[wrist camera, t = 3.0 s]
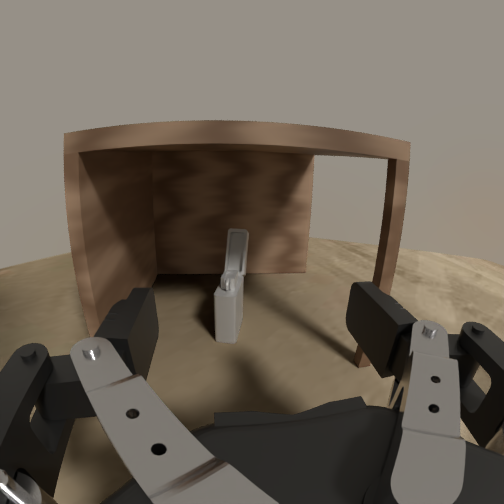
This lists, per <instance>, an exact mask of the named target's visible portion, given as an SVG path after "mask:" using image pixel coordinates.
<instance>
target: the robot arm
mask: <svg viewBox="0 0 504 504" xmlns="http://www.w3.org/2000/svg"><path fill="white" fill-rule="evenodd" d="M346 325H347V328H348V330H349V332H350V333H351V335H352V336H353V337H354V339H355V340H356V342H357V343H358V345H359V346H360V348H361V349H362V350H363V352H364V353H365V355H366V356H367V358H368V359H369V361H370V362H371V363H372V365H373V366H374V368H375V369H376V371H377V372H378V374H379V375H380V377H381V378H385V377H389V376H393V375H394V376H395V378H394V381H393V384H392V387H391V391H390V395H389V399H388V403H387V407H386V408H385V407H380V406H366V404H365V402H364V400H363V399H362V397H361V396H359V397H354V398H349V399H344V400H339V401H333V402H328V403H326V404H323V405H320V406H318V407H315V408H312V409H310V410H307V411H304V412H301V413H298V414H294V415H289V414H276V413H266V412H257V411H246V412H222V413H214V421H215V423H214V424H209V425H206V426H202V427H199V428H197V429H194V430H192V431H190V432H189V431H188V430H187V429H186V427H185V426H184V425H183V424H182V423H181V422H180V421H179V420H178V419H177V418H176V417H175V415H174V414H173V413H172V412H171V411H170V410H169V409H168V407H167V406H166V405H165V404H164V403H163V402H162V400H161V399H160V398H159V397H158V396H157V394H156V393H155V392H154V391H153V390H152V388H151V387H150V386H149V385H148V383H147V382H146V379H147V376H148V372H149V368H150V364H151V361H152V357H153V353H154V350H155V346H156V343H157V339H158V333H159V327H158V318H157V311H156V304H155V296H154V291H153V288H133V289H132V291H131V293H130V294H129V296H128V298H127V299H126V300H125V299H121V300H120V301H118V302H117V303H116V304H114V305H113V306H112V307H111V309H110V310H109V312H108V314H107V315H106V317H105V318H104V320H103V322H102V323H101V325H100V327H99V328H98V330H97V332H96V333H95V335H94V337H90V338H85V339H83V340H81V341H79V342H77V343H76V344H75V345H74V346H73V347H72V348H71V351H70V355H62V356H53V357H50V356H49V353H48V351H47V348H46V347H45V346H44V345H42V344H38V343H31V344H27V345H24V346H22V347H20V348H19V349H17V350H16V351H15V352H14V353H13V355H12V356H11V358H10V359H9V360H8V362H7V363H6V365H5V366H4V368H3V369H2V371H1V372H0V504H58V503H57V502H56V501H55V500H54V499H53V497H54V493H55V488H56V484H57V480H58V476H59V472H60V468H61V464H62V461H63V457H64V454H65V450H66V447H67V443H68V440H69V437H70V433H71V430H72V427H73V424H74V421H75V418H85V417H95V416H97V418H98V420H99V422H100V424H101V426H102V428H103V430H104V432H105V433H106V435H107V437H108V439H109V441H110V442H111V444H112V446H113V447H114V449H115V451H116V452H117V454H118V456H119V457H120V459H121V461H122V462H123V464H124V465H125V467H126V468H127V470H128V472H129V473H130V475H131V476H132V479H130V480H129V481H128V482H127V483H125V484H124V485H123V486H122V487H120V488H119V489H118V490H117V491H115V492H114V493H113V494H112V495H110V496H109V497H108V498H106V499H105V500H104V501H102V502H101V503H100V504H504V342H503V341H502V340H501V339H500V338H499V337H498V336H496V335H495V334H494V333H493V332H492V331H491V330H489V329H488V328H487V327H486V326H484V325H482V324H480V323H476V322H466V323H464V324H463V326H462V329H461V332H460V334H447V331H446V329H445V328H444V327H443V326H441V325H440V324H438V323H435V322H432V321H428V320H421V321H418V320H417V319H416V318H414V317H413V316H412V315H411V314H410V313H409V312H408V311H407V310H406V309H405V308H404V309H403V307H402V306H401V305H400V304H398V302H397V301H396V300H395V299H394V298H392V297H391V296H389V295H387V294H385V293H383V292H382V291H381V290H380V289H379V288H378V287H377V286H375V285H374V284H373V283H372V282H370V281H368V282H354V283H353V284H352V286H351V290H350V296H349V302H348V307H347V313H346ZM479 365H481V366H482V367H483V369H484V370H485V371H486V372H487V373H488V374H489V375H490V377H491V387H490V389H489V391H488V393H487V394H486V395H485V393H484V392H483V391H482V390H481V389H480V387H479V386H478V385H477V384H476V383H475V381H474V380H473V377H474V375H475V373H476V371H477V369H478V367H479ZM34 405H35V407H36V411H35V413H34V415H33V417H32V419H31V422H30V414H31V411H32V409H33V407H34ZM460 418H461V419H462V421H463V422H464V424H465V425H466V427H467V428H468V430H469V431H470V433H471V434H472V436H473V437H474V439H475V440H476V442H477V443H478V445H479V446H478V445H475V444H473V443H470V442H468V441H465V440H464V438H462V437H461V436H460Z"/></svg>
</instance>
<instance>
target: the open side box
mask: <svg viewBox="0 0 504 504" xmlns="http://www.w3.org/2000/svg"><path fill="white" fill-rule="evenodd" d="M314 155H330V156H350V157H367V158H380V159H388V168H387V181H386V193H385V203H384V211H383V220H382V226H381V234H380V241H379V247H378V253H377V259H376V265H375V271H374V276H373V281H372V283H373V284H374V285H375V286H377V287H378V288H379V289H380V290H381V291H382V292H383V293H385V294H387V295H390V291H391V287H392V282H393V277H394V273H395V268H396V262H397V257H398V252H399V246H400V240H401V234H402V226H403V220H404V213H405V205H406V196H407V186H408V174H409V161H410V142H407V141H402V140H398V139H393V138H388V137H383V136H378V135H372V134H367V133H361V132H354V131H348V130H341V129H334V128H326V127H318V126H308V125H298V124H287V123H274V122H257V121H222V120H219V121H218V120H214V121H213V120H211V121H209V120H204V121H171V122H154V123H140V124H129V125H119V126H111V127H103V128H95V129H89V130H82V131H76V132H71V133H64V182H65V198H66V210H67V220H68V230H69V236H70V245H71V252H72V258H73V264H74V270H75V275H76V280H77V285H78V290H79V295H80V299H81V304H82V308H83V312H84V316H85V320H86V324H87V327H88V331H89V335H90V337H94V335H95V333H96V332H97V330H98V328H99V327H100V325H101V323H102V322H103V320H104V318H105V317H106V315H107V314H108V312H109V310H110V309H111V307H112V306H113V305H114V304H116V303H117V302H118V301H120V300H121V299H125V300H126V299H127V298H128V296H129V294H130V293H131V291H132V289H133V288H151V287H152V285H153V283H154V281H155V279H156V276H157V274H223V273H224V271H225V259H226V248H227V237H228V230H229V229H230V228H233V229H246V230H247V231H248V233H249V240H248V252H247V264H246V274H247V273H302V272H306V262H307V251H308V241H309V229H310V216H311V203H312V187H313V171H314ZM354 361H355V363H356V364H357V366H358V368H359V367H365V366H370V363H371V362H370V361H369V359H368V358H367V356H366V355H365V353H364V352H363V350H362V349H361V348H360V346H359V345H358V346H357V350H356V353H355V357H354Z"/></svg>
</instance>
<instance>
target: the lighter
mask: <svg viewBox="0 0 504 504" xmlns="http://www.w3.org/2000/svg"><path fill="white" fill-rule="evenodd" d="M248 240H249V233H248V231H247V230H246V229H233V228H230V229H229V230H228V237H227V248H226V259H225V271H224V273H223V275H222V277H221V282H220V284H219V286H218V287H217V289H216V291H215V293H214V318H215V341H217V342H223V343H232V344H234V343H236V341H237V338H238V334H239V331H240V327H241V323H242V320H243V280H244V276H245V275H246V264H247V252H248Z"/></svg>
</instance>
